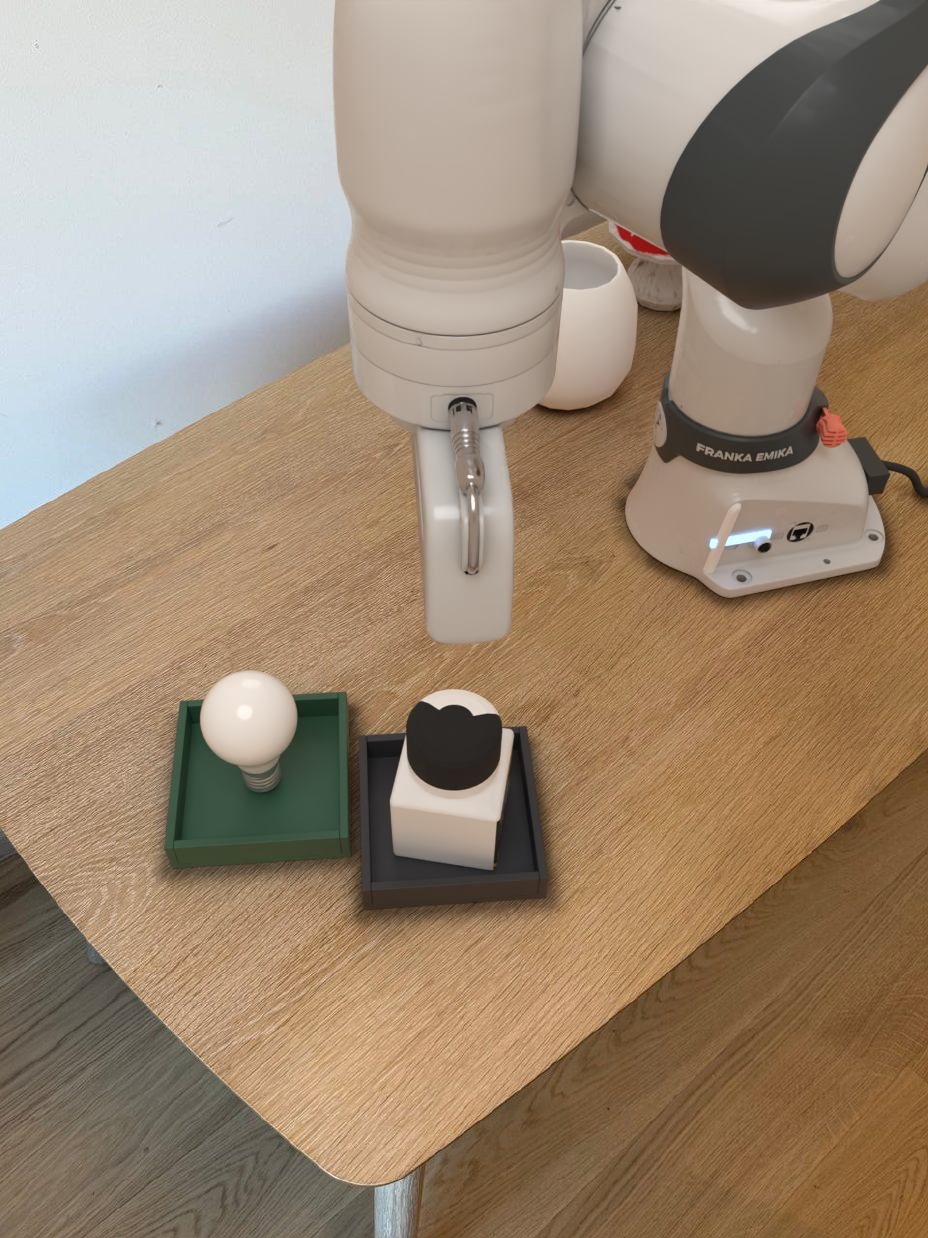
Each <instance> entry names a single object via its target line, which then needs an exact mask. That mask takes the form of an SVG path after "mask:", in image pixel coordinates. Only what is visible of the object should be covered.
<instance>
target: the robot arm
mask: <svg viewBox="0 0 928 1238" xmlns="http://www.w3.org/2000/svg"><path fill="white" fill-rule="evenodd" d="M332 23H333V28H332V104H333V107H332V108H333V124H334V125H333V126H334V142H335V154H336V162H337V165H336V166H337V174H338V179H339V183H340V188H341V190H342V192H343V194H344V197H345V199H346V202H347V205H348V208H349V213H350V217H351V218H350V219H351V232H350V236H349V237H350V238H349V242H348V245H347V248H346V254H345V259H344V261H345V262H344V277H345V278H344V279H345V289H346V290H345V291H346V302H347V303H346V305H347V316H348V317H347V318H348V329H349V330H348V331H349V343H350V357H351V369H352V370H351V372H352V375H353V379H354V381H355V384H356V386H357V387H358V389H359V391H360V392H361V394H362V395H363V396H364V397H365V398H366V399H367V400H368V401H369V402H370V403H371V404H372V405H373V406H374V407H376V408H377V409H378V410H380V411H381V412H382V413H385V414H387V415H388V416H389V417H390V418H391V419H392V420H393V421H394V423H396V425H398V426H399V427H401V429H404V430H406V431H408V432H409V433H410V438H411V439H410V441H411V453H412V465H413V466H412V467H413V480H414V494H415V507H416V520H417V533H418V534H417V535H418V549H419V561H420V572H421V573H420V575H421V576H420V577H421V587H422V601H423V602H422V603H423V612H424V613H423V615H424V624H425V630H426V633H427V636H428V638H429V639H430V640H431V641H432V642H433V643H434V642H435V643H439V644H442V645H443V644H444V645H474V644H486V643H492V642H497V641H500V640H502V639H504V638H505V637H507V636H508V635H509V633H510V631H511V628H512V623H513V606H514V587H515V585H514V583H515V552H516V551H515V549H516V548H515V547H516V546H515V545H516V544H515V543H516V540H515V539H516V528H515V527H516V526H515V508H514V507H515V506H514V497H513V489H512V483H511V478H510V471H509V464H508V457H507V452H506V445H505V439H504V432H503V430H504V429H507V428H508V427H509V426H511V424H513V423H514V422H515V421H516V419H517V418H518V417H520V416H522V415H523V414H525V413H527V412H529V411H530V410H531V409H533V408H534V407H535V406H537V405H539V404H538V403H539V402H540V401H541V400H542V399H543V397H544V396H545V395H546V394H547V392H548V391H549V389H550V387H551V385H552V383H553V381H554V377H555V372H556V362H557V352H558V342H559V331H560V320H561V310H562V300H563V288H564V279H565V260H564V254H563V248H562V243H561V241H562V234H563V232H564V229H565V227H567V225H568V224H569V223H570V222H571V221H572V220H573V219H576V218H578V217H580V216H582V215H585V214H587V213H589V212H592V213H595V214H596V215H598V216H599V217H602V218H604V219H605V220H607V221H608V222H609V221H611V222H613V223H615V224H616V225H618V226H620V227H622V228H624V229H626V230H627V231H629V232H631V233H633V234H635V235H636V236H638V237H640V238H642V239H644V240H646V241H647V242H649V243H651V244H653V245H655V246H657V247H658V248H660V249H662V250H664V251H666V252H668V253H669V255H670V256H671V257H672V258H673V259H674V260H675V261H676V262H678V263H679V264H681V265H682V305H681V308H680V313H679V320H678V327H677V331H676V332H677V333H676V339H675V346H674V350H673V357H672V362H671V367H670V368H669V369H668V370H667V372H666V374H665V376H664V378H663V383H662V387H661V391H660V395H659V399H658V401H657V402H656V407H655V413H654V419H653V425H652V426H653V427H652V439H653V443H652V446H651V449H650V452H649V454H648V456H647V460H646V462H645V464H644V466H643V468H642V471H641V473H640V475H639V477H638V479H637V480H636V483H634V486H633V487H632V489H631V490H630V492H629V494H628V496H627V498H626V501H625V507H624V514H625V521H626V524H627V528H628V529H629V532H630V533H631V535H632V537H633V538H634V539H635V541H636V542H637V543H638V545H639V546H640V547H641V548H642V549H643V550H644V551H645V552H646V553H648V554H649V555H650V556H651V557H653V558H654V559H656V560H657V561H658V562H661V563H662V564H664V565H666V566H667V567H670V568H671V569H674V570H677V571H679V572H682V573H684V574H687V575H689V576H691V577H694V578H695V579H697V580H698V581H699V582H701V583H702V584H703V585H704V586H705V587H707V588H708V589H709V590H711V592H714V593H715V594H716V595H718V596H721V597H723V598H728V599H730V598H731V599H732V598H733V599H735V598H739V597H743V596H748V595H753V594H757V593H762V592H766V591H767V592H768V591H771V590H776V589H781V588H785V587H791V586H796V585H801V584H805V583H810V582H814V581H820V580H824V579H829V578H833V577H837V576H838V577H839V576H842V575H847V574H853V573H858V572H863V571H867V570H870V569H873V568H874V569H875V568H877V567H878V566H879V565H880V563H881V560H882V558H883V555H884V551H885V548H886V547H885V546H886V531H885V527H884V526H885V525H884V523H883V522H884V521H883V519H882V517H881V513H880V510H879V508H878V505H877V503H876V502H875V500H874V498H873V496H875V495H882V494H883V493H884V491H885V489H886V486H887V484H888V482H889V479H890V477H891V472H894V473H898V474H901V475H903V476H905V477H906V478H908V479H909V480H910V483H911V485H912V487H913V490H914V492H915V493H916V494H917V495H919V496H920V497H928V487H925V486H924V485H923V483H922V480H921V477H920V476H919V474H918V472H917V471H916V470H915V469H913V468H912V467H910V466H907V465H904V464H902V463H898V462H893V461H889V460H883V459H881V458H880V456H879V455H878V454H877V452H876V451H875V449H874V448H873V446H872V444H871V443H870V442H869V440H868V439H867V437H866V436H860V437H852V438H848V435H849V433H848V430H847V429H846V427H845V426H844V425H843V423H842V418H841V416H840V415H838V414H834V413H830V412H829V406H830V403H829V400H828V398H827V396H826V394H825V392H824V391H823V390H822V389H821V388H819V387H818V386H817V384H816V383H817V381H818V377H819V375H820V371H821V367H822V365H823V361H824V358H825V355H826V352H827V349H828V346H829V343H830V340H831V337H832V333H833V326H834V325H833V324H834V312H833V311H834V310H833V303H832V300H831V296H830V293H832V292H835V291H839V292H841V293H843V294H846V295H848V296H851V297H854V298H856V299H858V300H861V301H865V302H869V303H870V302H871V303H877V302H878V303H879V302H884V301H888V300H891V299H895V298H898V297H900V296H902V295H905V294H907V293H909V292H911V291H913V290H916V288H918V287H920V286H921V285H923V284H924V283H926V282H927V281H928V0H335V1H334V11H333V22H332Z"/></svg>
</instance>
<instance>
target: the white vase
mask: <svg viewBox="0 0 928 1238" xmlns="http://www.w3.org/2000/svg"><path fill="white" fill-rule="evenodd" d="M561 243H562V248H563V254H564V260H565V279H564V288H563V300H562V310H561V320H560V331H559V342H558V352H557V362H556V372H555V377H554V381H553V383H552V385H551V387H550V389H549V391H548V392H547V394H546V395H545V396H544V397H543V399H542V400H541V401H540V402H539V403H538V404H537V405H540V406H543V407H546V408H548V409H553V410H554V409H555V410H562V411H563V410H564V411H572V410H578V409H585V408H588V407H591V406H594V405H595V404H598V403H600V402H602V401H605V400H606V399H608V398H611V397H612V396H613V394H614V393H615V392H616V391H617V390H618V388H619V387H620V386H621V384H622V383H623V382H624V380H625V378H626V377H627V376H628V374H629V372H630V371H631V369H632V366H633V360H634V356H635V350H636V345H637V329H638V327H637V326H638V309H639V308H638V306H639V303H638V302H637V301H636V297H635V293H634V289H633V286H632V283H631V281H630V279H629V277H628V275H627V273H628V272H627V270H626V268H625V267H624V264H623V263H622V261H621V259H620V258H619V256H618V255H617V254H615V253H614V252H613V251H611V250H610V249H608V248H606V247H605V246H603V245H599V244H596V243H594V242H590V241H587V240H585V241H584V240H576V239H575V240H573V239H566V240H561Z"/></svg>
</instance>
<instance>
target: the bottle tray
mask: <svg viewBox="0 0 928 1238" xmlns="http://www.w3.org/2000/svg"><path fill="white" fill-rule="evenodd" d="M502 728H506V729H511V730H512V731H513V733H514V741H513V752H512V763H511V774H510V785H509V792H508V798H507V804H506V810H505V816H504V822H503V829H502V835H501V841H500V847H499V853H498V859H497V865H496V868H495V869H494V870H493V871H489V870H482V869H476V868H470V867H464V866H457V865H451V864H445V863H438V862H432V861H426V860H420V859H413V858H407V857H401V856H396V855H395V854H394V852H393V841H392V826H391V810H390V798H391V794H392V790H393V786H394V782H395V778H396V773H397V769H398V765H399V761H400V757H401V753H402V749H403V745H404V741H405V736H406V732H396V733H394V732H393V733H376V734H360V735H358V737H357V740H358V781H359V783H358V784H359V821H360V823H359V826H360V828H359V829H360V832H359V833H360V868H361V870H360V872H361V873H360V874H361V875H360V876H361V895H362V903H363V904H362V905H363V911H370V910H371V911H373V910H387V909H401V908H415V907H416V908H417V907H429V906H430V907H431V906H443V905H445V906H446V905H459V904H476V903H488V902H501V901H502V902H505V901H518V900H534V899H545V898H547V890H548V883H549V873H548V865H547V857H546V851H545V844H544V837H543V829H542V823H541V815H540V809H539V801H538V795H537V788H536V781H535V774H534V767H533V760H532V753H531V746H530V738H529V733H528V732H529V731H528V726H527V725H519V726H517V725H515V726H502Z"/></svg>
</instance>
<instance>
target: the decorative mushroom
mask: <svg viewBox="0 0 928 1238" xmlns="http://www.w3.org/2000/svg"><path fill="white" fill-rule="evenodd" d="M608 232H609V237H610V238H611V239H612V240H613V241H614V242H615V243H616V244H617V245H619V246H620V248H622V249H623V250H624V251H625V252H626V253H627V254H629V255H631V256H634V257H635V258H634V259H633V261H632V262H631V263H630V265H629V268H628V269H627V272H626V273H627V275H628V277H629V279H630V281H631V283H632V286H633V289H634V293H635V297H636V301H637V303H638V304H639V305H640V306H642V307H645V308H648V309H651V310H653V311H657V312H658V311H660V312H661V311H662V312H673V311H676V310H679V309H681V305H682V265H681V264H679V263H678V262H676V261H675V260H674V259H673V258H672V257H671V256H670V255H669V253H668V252H666V251H664V250H662V249H660V248H658V247H657V246H655V245H653V244H651V243H649V242H647V241H646V240H644V239H642V238H640V237H638V236H636V235H635V234H633V233H631V232H629V231H627V230H626V229H624V228H622V227H620V226H618V225H616V224H615V223H613V222H611V221H609V220H608Z"/></svg>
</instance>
